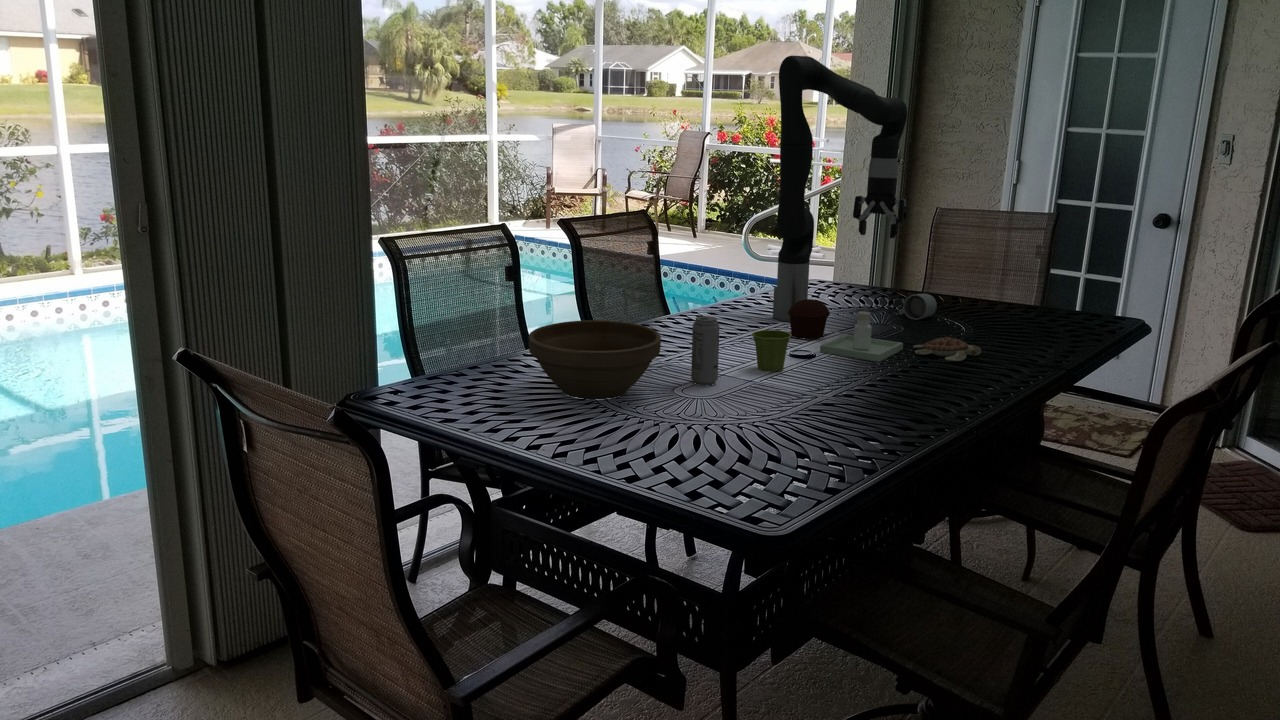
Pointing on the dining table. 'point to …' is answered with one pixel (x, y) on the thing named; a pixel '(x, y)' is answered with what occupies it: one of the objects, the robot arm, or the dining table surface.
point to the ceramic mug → (919, 306)
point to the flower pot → (594, 355)
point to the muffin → (808, 319)
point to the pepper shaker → (862, 332)
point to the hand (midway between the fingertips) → (877, 236)
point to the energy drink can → (705, 350)
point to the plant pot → (771, 349)
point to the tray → (875, 353)
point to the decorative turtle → (948, 349)
